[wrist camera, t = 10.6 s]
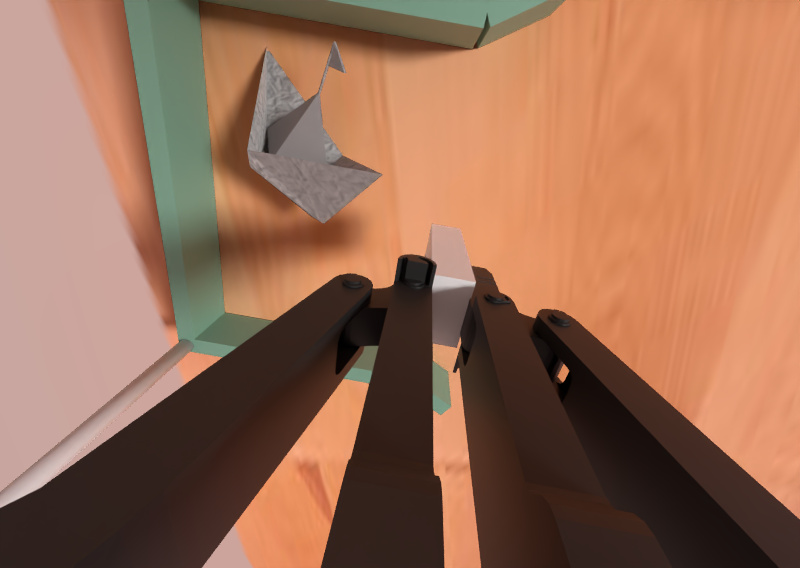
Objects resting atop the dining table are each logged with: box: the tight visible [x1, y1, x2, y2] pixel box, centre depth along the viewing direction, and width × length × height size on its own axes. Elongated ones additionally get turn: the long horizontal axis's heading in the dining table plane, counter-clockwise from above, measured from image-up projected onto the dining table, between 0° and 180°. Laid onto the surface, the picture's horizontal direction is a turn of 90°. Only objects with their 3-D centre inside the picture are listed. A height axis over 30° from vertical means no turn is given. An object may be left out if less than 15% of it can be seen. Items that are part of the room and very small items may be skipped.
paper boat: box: [247, 42, 382, 224], centre depth 18 cm, size 12×6×9 cm
